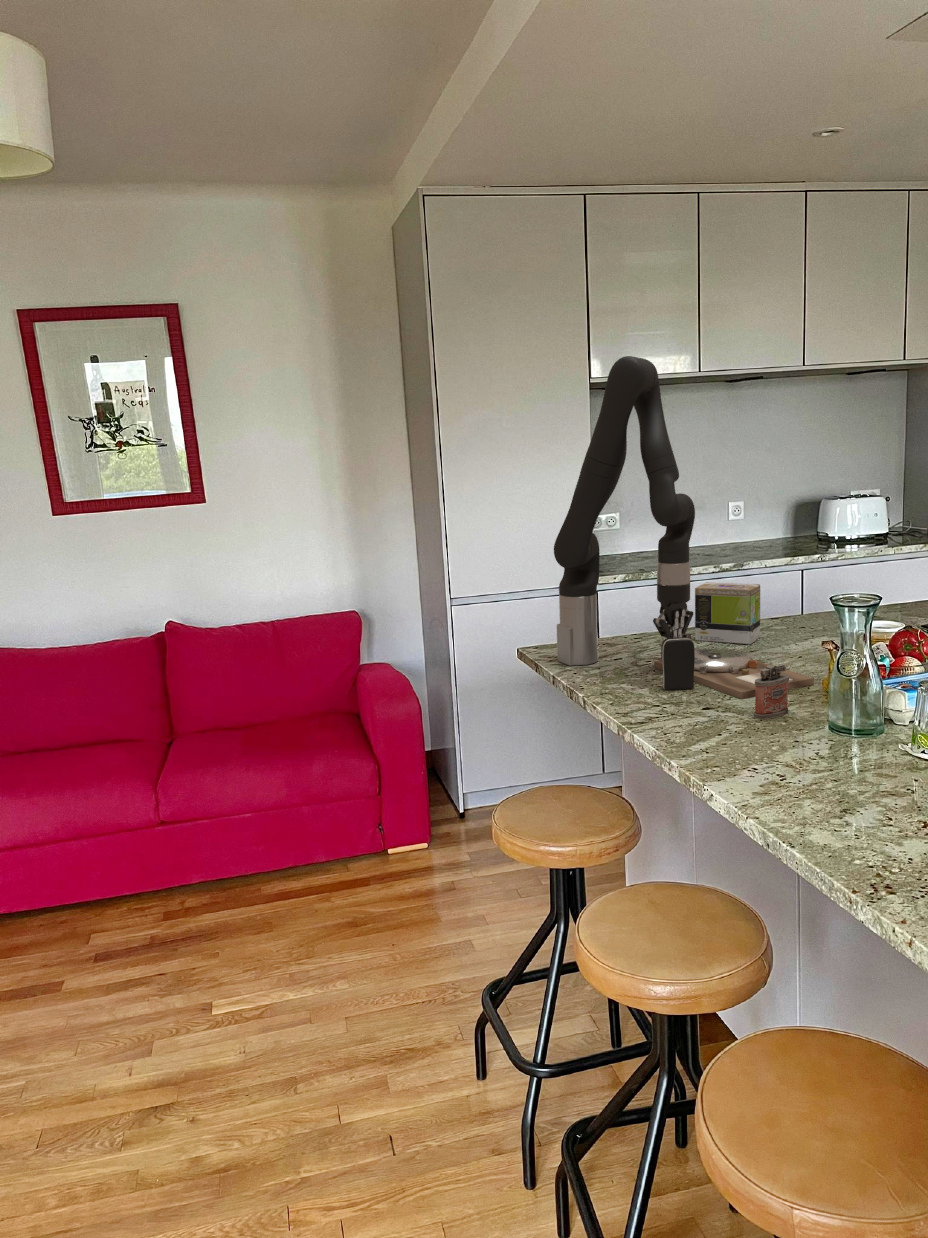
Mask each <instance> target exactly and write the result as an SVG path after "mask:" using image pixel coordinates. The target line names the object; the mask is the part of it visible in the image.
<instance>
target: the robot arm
mask: <svg viewBox="0 0 928 1238" xmlns="http://www.w3.org/2000/svg"><path fill="white" fill-rule="evenodd" d="M661 394H662V393H661V387H660V379H659V372H658V370H657V368H656V366H655V365H654V363H653V362H651V360H648V359H646V358H643V357H638V356H632V355H626V356H623V357H620V358H619V359H617V360H616V361H615V362H614V363H613V364H612V366H611V368H610V370H609V373H608V375H607V379H606V385H605V389H604V394H603V398H602V403H601V407H600V411H599V414H598V418H597V421H596V423H595V427H594V429H593V433H592V436H591V438H590V443H589V446H588V448H587V449H586V450H587V451H586V453H585V455H584V459H583V462H582V464H581V467H580V473H579V475H578V480H577V482H576V485H575V488H574V492H573V496H572V499H571V503H570V506H569V509H568V511H567V514H566V516H565V518H564V521H563V523H562V525H561V527H560V529H559V532H558V534H557V536H556V539H555V541H554V544H553V545H554V546H553V556H554V559H555V560H556V562H557V564H558V565H559V566H560V567H562V568H563V569H564V570H563V575H562V578H561V580H560V582H559V585H558V599H559V600H558V604H559V606H558V607H559V608H558V609H559V623H557V624H556V652H557V653H556V654H557V655H556V657H557V658H556V660H557V662H560V663H563V664H564V665H567V666H585V665H591V664H595V663H597V662H598V655H599V654H598V653H599V652H598V612H597V611H598V610H597V609H598V608H597V607H598V605H597V604H598V599H597V598H598V596H597V592H598V591H597V590H598V589H597V588H598V584H599V579H600V558H601V557H600V556H601V555H600V543H599V541H598V538H597V536H596V534H595V533H594V529H595V526H596V522H597V520H598V518H599V516H600V514H601V512H602V511H603V509H604V507H605V506H606V504H607V503H608V501H609V499H610V498H611V496H612V494H613V493H614V491H615V489H616V487H617V485H618V483H619V480H620V478H621V474H622V472H623V468H624V466H625V462H626V458H627V450H628V449H627V445H628V443H627V439H628V438H627V435H628V433H627V432H628V431H627V430H628V425H629V420H630V417H631V413H632V411H633V408H634V410H635V412H636V416H637V420H638V426H639V446H640V455H641V459H642V464H643V467H644V470H645V473H646V477H647V480H648V486H649V487H648V490H649V491H648V493H649V494H648V495H649V505H650V507H649V508H650V510H651V514H652V517H653V518H654V520H655V522H656V523H657V524H659V526H661V527H665V528H666V529H665V533H664V535H663V536H662V537H660V538H659V540H658V542H657V543H658V544H657V551H658V552H657V554H658V555H657V569H656V600H657V601H658V602H659V603H660V608H659V615H658V616H657V617H654V618H653V620H652V623H653V625H654V626H655V628H656V629H657V632H658V633H659V635H660V637H662V638H665V639H666V638H676V637H682V634H685V633H687V630H688V628H689V626H690V624H691V621H692V618H693V617H694V611H692V610H691V611H690V610H689V609H688V604H687V603H688V602H690V600H691V566H690V540H691V538H692V534H693V529H694V524H695V518H696V509H695V504H694V501H693V499H692V498H691V497H690V496H689V495H687V494H685V493H676V486H675V482H677V481H678V480H679V478H680V472H679V471H680V470H679V467H678V465H677V460H676V458H675V455H674V451H673V448H672V444H671V440H670V437H669V434H668V429H667V424H666V419H665V415H664V414H665V413H664V409H663V403H662V396H661Z"/></svg>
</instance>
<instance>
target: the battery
mask: <svg viewBox="0 0 928 1238" xmlns="http://www.w3.org/2000/svg"><path fill="white" fill-rule="evenodd" d="M695 648H696V647H695V643H694V641H693V640H692V638H691V639H689V638H686V637H682V636H681V637H676V638H666V637H665V639H663V641H662V642H661V649H660V650H661V651H660V656H661V657H660V660H662V665H663V670H662V688H663V689H664V690H667V691H669V690H671V691H673V690H689V689H694V687H695V684H694V683H695V682H694V662H695Z"/></svg>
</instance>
